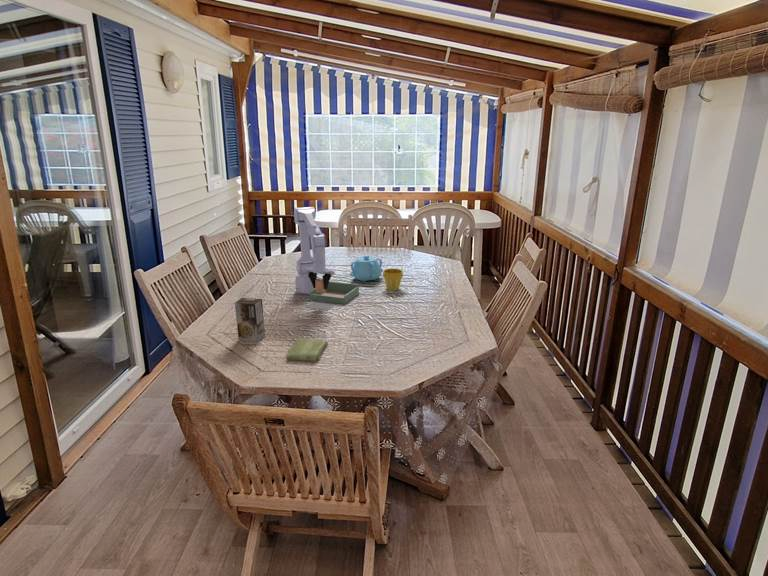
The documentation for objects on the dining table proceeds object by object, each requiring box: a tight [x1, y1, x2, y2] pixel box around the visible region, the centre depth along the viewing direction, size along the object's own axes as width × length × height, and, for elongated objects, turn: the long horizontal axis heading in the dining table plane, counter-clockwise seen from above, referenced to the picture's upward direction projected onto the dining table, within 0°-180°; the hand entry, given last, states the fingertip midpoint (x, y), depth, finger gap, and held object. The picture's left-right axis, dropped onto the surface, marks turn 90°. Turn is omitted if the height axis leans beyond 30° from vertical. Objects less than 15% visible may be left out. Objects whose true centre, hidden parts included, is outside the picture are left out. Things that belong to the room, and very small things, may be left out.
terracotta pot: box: [315, 277, 326, 293], centre depth 238 cm, size 5×5×6 cm
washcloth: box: [285, 337, 328, 363], centre depth 191 cm, size 13×18×3 cm
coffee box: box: [234, 297, 266, 342], centre depth 202 cm, size 9×6×16 cm
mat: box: [304, 300, 337, 312], centre depth 241 cm, size 12×10×1 cm
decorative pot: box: [349, 254, 384, 283], centre depth 283 cm, size 16×16×14 cm
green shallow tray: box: [309, 280, 360, 305], centre depth 254 cm, size 19×17×5 cm
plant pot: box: [382, 268, 404, 291], centre depth 266 cm, size 10×10×10 cm
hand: (320, 288), depth 238 cm, fingers closed on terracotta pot, 5 cm apart
